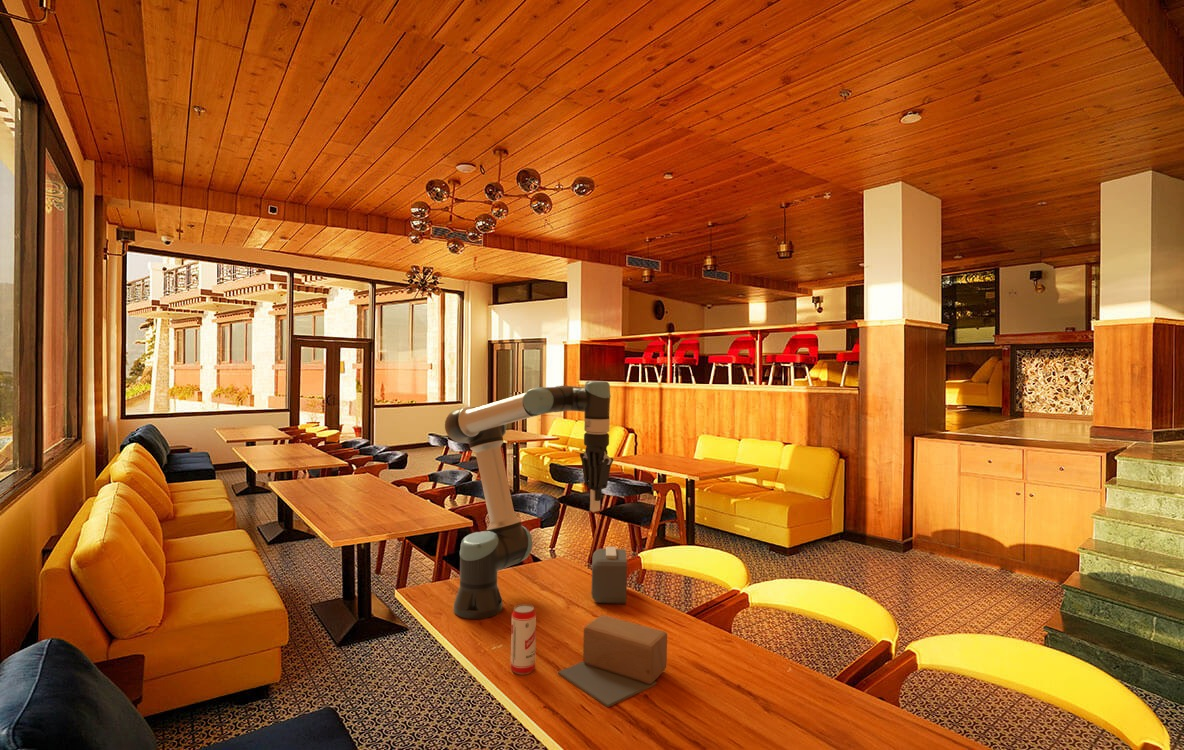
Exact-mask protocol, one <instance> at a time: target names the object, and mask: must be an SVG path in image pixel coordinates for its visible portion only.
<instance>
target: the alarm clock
mask: <svg viewBox="0 0 1184 750" xmlns="http://www.w3.org/2000/svg"><path fill="white" fill-rule="evenodd" d="M591 558H592V560H591V561H592V563H591V564H592V565H591V597H592V599H593V600H594V602H595V603H598V604H620V605H622V604H623V605H624V604H625V605H626V604H627V585H628V584H627V581H628V579H627V578H628V576H627V574H628V559H627V552H626V548H625V549H624V548H623V549H622V548H617V547H616V546H605V548H598V549H596V550H595V551H594V552H593V553H592V557H591Z"/></svg>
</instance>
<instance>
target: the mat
mask: <svg viewBox="0 0 1184 750" xmlns="http://www.w3.org/2000/svg"><path fill="white" fill-rule="evenodd" d="M557 675H559V676H560V677H562V678H564V680H566V681H568V682H570V683H571V684H573V685H574V686H575V687H577V688H578V689H580V690H581V691H582V692H584V693H586V694H588V695H589V696H591V698H594V699H595V700H596V701H598V702H599V703H601V704H602V705H604V706H605V707H606V708H610V707H611V706H614V705H616V704H617V703H618V704H619V703H620V702H622V701H624V700H627V699H629V698H631V697H632V696H635V695H637V694H639V693H641V692H644V691H646V690H648V689H650V688H651V687H654V686H656V685H657V682H656V680H655V681H654V682H653V683H651V684H647V683H644V682H641V681H638V680H635V679H632V678H628V677H625V676H622V675H619V674H616V673H613V672H610V671H607V670H604V669H600V668H597V667H594V666H591V665H588V664H585V663H584V661H583V660H582V661H581V662H579V663H575V664H572V665H571V666H569V667H566V668H564V669H563V668H562V669H561V670H559V671H557Z"/></svg>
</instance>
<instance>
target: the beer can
mask: <svg viewBox="0 0 1184 750" xmlns="http://www.w3.org/2000/svg"><path fill="white" fill-rule="evenodd" d="M536 626H537V613H536V611H535V607H534V606H533V605H532V604H524V603H522V604H518V605H516V606H514V607H513V612H512V613H511V628H510V629H511V634H510V636H511V637H510V638H511V640H510V669H511V671H513V673H514V674H516V675H520V676H522V675H523V676H524V675H529V674H530V673H532V672H533V671H534V669H535V667H536V640H537V639H536V636H537V634H536V633H537V627H536Z"/></svg>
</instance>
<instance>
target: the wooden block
mask: <svg viewBox="0 0 1184 750" xmlns="http://www.w3.org/2000/svg"><path fill="white" fill-rule="evenodd" d="M582 644H583V646H582V647H583V652H582V653H583V655H582V657H583V659H582V662H583V661H584V663H585V664H588V665H591V666H594V667H597V668H600V669H604V670H607V671H610V672H613V673H616V674H619V675H622V676H625V677H628V678H632V679H635V680H638V681H641V682H644V683H647V684H651V683H653V682H654V681H655V682H656V680H657V679H658V678H659V676H661V675H662V673H664V671H666V669H667V665H668V663H667V659H668V656H667V655H668V633H667V632H666V631H665V630H660V629H657V628H653V627H650V626H646V625H641V624H638V623H634V622H630V621H627V620H622V619H621V618H620V619H619V618H616V617H612V616H608V615H605V614H602V615H599V616H598V617H597V618H595V619H593V620H592V621H590V622H589V623H588V624H586V625H585V626H584V628H583V643H582Z"/></svg>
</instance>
